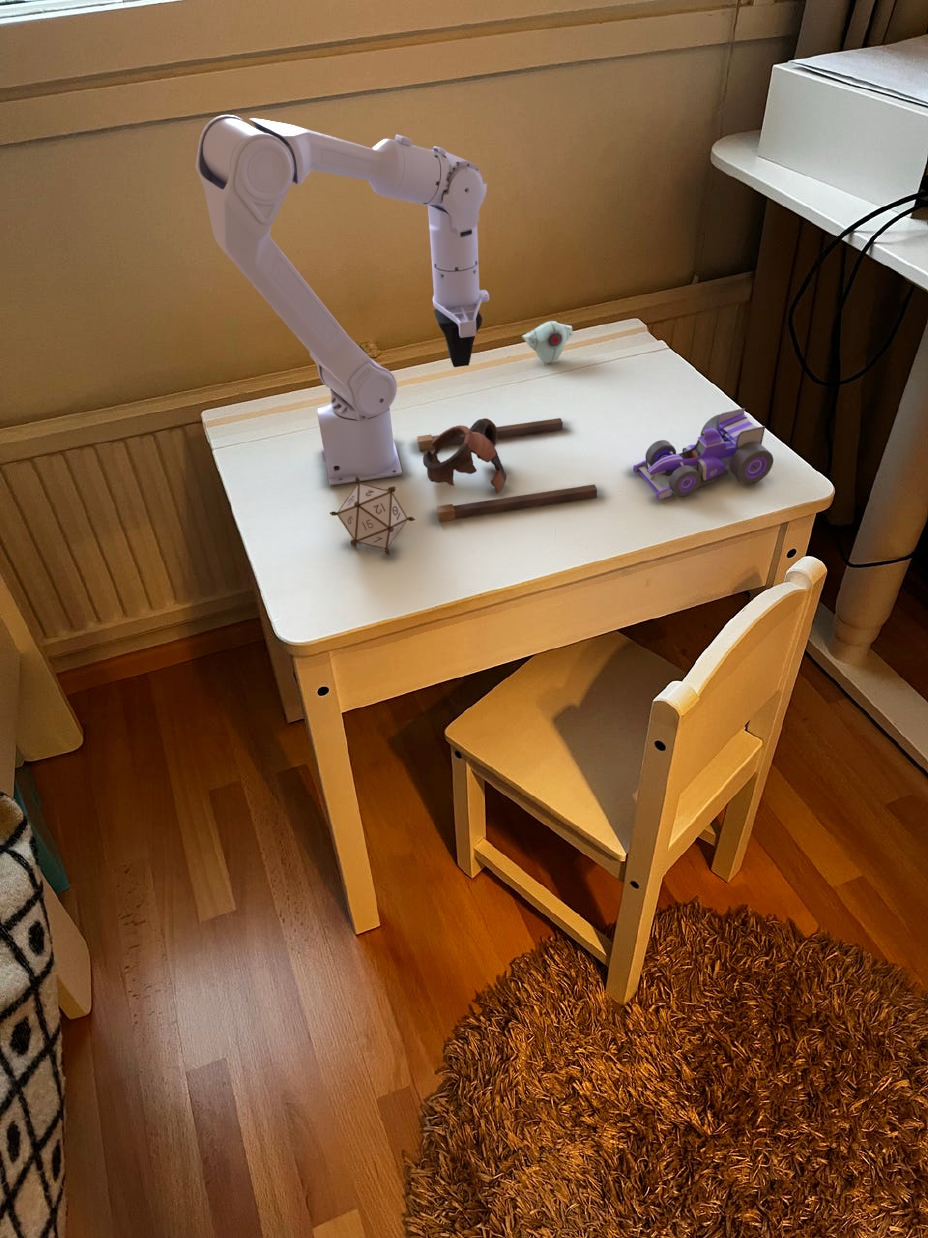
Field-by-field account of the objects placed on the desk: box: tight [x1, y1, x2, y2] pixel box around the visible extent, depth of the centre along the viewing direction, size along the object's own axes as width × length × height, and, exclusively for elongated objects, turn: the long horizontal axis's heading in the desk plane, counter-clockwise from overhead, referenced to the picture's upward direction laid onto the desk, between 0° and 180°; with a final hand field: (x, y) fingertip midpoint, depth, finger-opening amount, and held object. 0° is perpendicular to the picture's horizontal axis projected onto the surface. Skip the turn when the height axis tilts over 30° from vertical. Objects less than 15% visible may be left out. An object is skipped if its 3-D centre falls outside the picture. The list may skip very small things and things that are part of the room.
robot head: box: [521, 320, 574, 364], centre depth 137 cm, size 8×4×7 cm, turn 109°
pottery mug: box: [422, 418, 507, 494], centre depth 117 cm, size 12×10×8 cm
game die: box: [329, 477, 416, 556], centre depth 106 cm, size 9×8×10 cm
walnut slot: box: [416, 417, 598, 523], centre depth 118 cm, size 20×18×1 cm
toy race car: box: [632, 407, 774, 501], centre depth 114 cm, size 10×15×6 cm, turn 109°
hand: (460, 363), depth 121 cm, fingers closed
